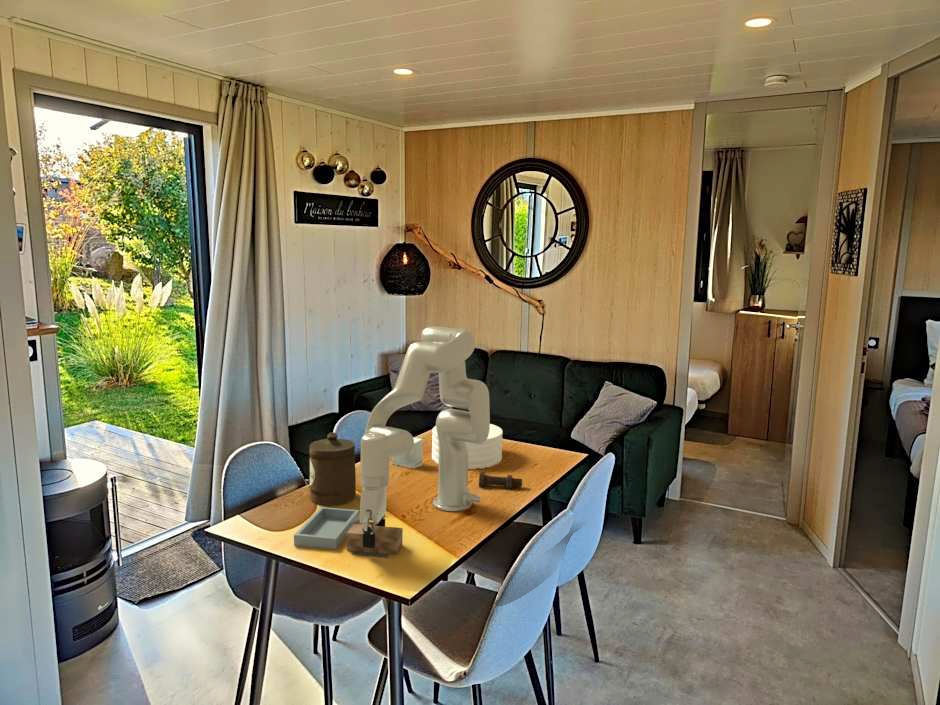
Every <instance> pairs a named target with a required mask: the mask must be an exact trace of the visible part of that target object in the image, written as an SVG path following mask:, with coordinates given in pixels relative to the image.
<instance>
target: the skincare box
mask: <svg viewBox="0 0 940 705" xmlns="http://www.w3.org/2000/svg"><path fill="white" fill-rule="evenodd" d="M413 439H414V445H413V448H412V450H411V451H410V452H409V453H408V454H407V455H405V456H402V457H396V458H391V465H392V464H394V465H393V466H397V465H399V466H398V467H401V466H404V467H403V468H406V467H408V468H407V469H411V468H413V469H412V470H415V468H416V469H418V468H419V467H422V466H423V457H424V454H423V451H424V450H423V446H424V440H423V438H419V437H413ZM417 467H418V468H417Z"/></svg>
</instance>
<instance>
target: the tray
mask: <svg viewBox="0 0 940 705" xmlns="http://www.w3.org/2000/svg"><path fill="white" fill-rule="evenodd" d="M358 522H360V509H352V508H351V509H350V508H349V509H348V508H339V507H337V508H335V507H325V506H321V507H320V508H319V509H318V510H316V512H315V513H314V514H313V515H312V516H311V517H310V518H309V519H308V520H307V521H306V522H305V523H304V524H303V525H302V526H301V527H300V528H299V529H298V530H297V531H296V532H295V533H294V535H293V546H294V547H295V546H296V547H297V546H298V547H308V548H317V549H318V548H319V549H320V548H321V549H328V550H337V548H339V546H340V545H341V544H342V542H344V540H345V539H346V538H347V534H346V533H347V532H348V530H349V529H350V528H351V527H352V525H353V524H358Z"/></svg>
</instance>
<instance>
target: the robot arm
mask: <svg viewBox="0 0 940 705" xmlns="http://www.w3.org/2000/svg"><path fill="white" fill-rule="evenodd" d="M420 340H421V341H416V342H413V343H411V344H409V346H408V348H407V350H406V354H405V355H404V359H403V362H402V364H401V367H400V370H399V373H398V375H397V376H398V377H397V378H396V382H395V385H394V387H393V390H391V391H390V392H388V393H387V394H386V395H385V396H384V397H383V398H382V399H381V400H380V401H379V402H378V403H377V404H376V405H375V406H374V407H373V409H372V411H370V415H369V417H368V419H367V423H366V426H365V429H364V434H363V435H362V437H361V440H360V487H361V488H362V489H361V493H360V504H359V524H362V525H363V528H362V530H363V532H362V533H363V547H366V548H374V547H375V533H374V528H375V526H385V527H386V511H387V487H389V482H390V481H389V480H390V479H389V477H390V476H389V471H390V468H389V467H390V465H389V464H390V460H391V459H392V458H396V457H402V456H405V455H407V454H408V453H409V452H410V451H411V450H412V448H413V445H414V439H413V435H412V434H411V433H410V432H409V431H407V430H405V429H401V428H397V427H393V426H387V425H386V424H387V421H388V420H389V418H390V417H391V416H392V415H393V414H394V413H395V412H396V411H398V410H399V409H401V408H404V407H406V406H408V405H411V404H415V403H417V402H420V401H421V400H422V399H423V397H424V395H425V392H426V388H427V385H428V382H429V379H430V376H431V373H436V374H438V388H439V389H438V390H439V398H440V401H441V403H442V404H443V405H445V406H447V407H449V408H447V409H443V410H441V411H440V412H439V413H438V415H437V417H436V420H435V426H436V430H437V435H438V442H439V464H438V472H437V473H438V474H437V476H438V478H437V480H438V481H437V489H438V490H437V496H436V497H434V498H433V500H432V504H433V506H434V507H435V509H439V510H440V511H445V512H446V511H447V512H460V511H465V510H468V509H469V508H470V507H471V506H472V504H473V503H472V502H474V503H481V499H482V498H481V496H480V495H479V494H478V493H471V492H470V489H469V488H468V482H469V481H468V476H469V475H468V473H469V469H468V449H467V446H466V444H465V442H469V443H474V444H481V443H483V442H485V441H486V439H487V438H488V435H489V430H490V424H491V423H490V421H491V420H490V419H491V418H490V415H491V414H490V410H491V409H490V391H489V389H488V386H487V384H485V382H483V381H481V380H478V379H472V378H468V377H467V372H466V370H467V369H466V360H467V359H468V358H470V356H471V355H472V354H473V352H474V350H475V349H476V348H475V347H476V338H475V335H474V334H473V332H472V331H471V330H467V329H466V328H465V329H464V328H456V327H455V328H454V327H446V326H428V327H426V328H424V329H423V330H422V331H421V335H420ZM450 407H452V408H450ZM455 408H457V409H455ZM460 409H461V410H460ZM467 410H468V411H467ZM369 525H372V528H370V527H369Z"/></svg>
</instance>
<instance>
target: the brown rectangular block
mask: <svg viewBox="0 0 940 705" xmlns="http://www.w3.org/2000/svg"><path fill="white" fill-rule="evenodd" d="M369 527H370V528H372V525H369ZM362 528H363V525H362V524H361V523H356V524H353V525H352V527H351V528H350V529H349V530H348V532H347V533H346V534H347V536H346V551H352V552H353V551H360V552H371V553H382V554H389V555H394V556H397V555H398V553H399V552H400V550H401V549H402V546H403V531H404V530H403V527H397V526H396V527H395V526H394V527H393V526H386V525H385V526H375V528H374V533H375V547H374V548H366V547H363V533H362V532H363V530H362Z"/></svg>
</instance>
